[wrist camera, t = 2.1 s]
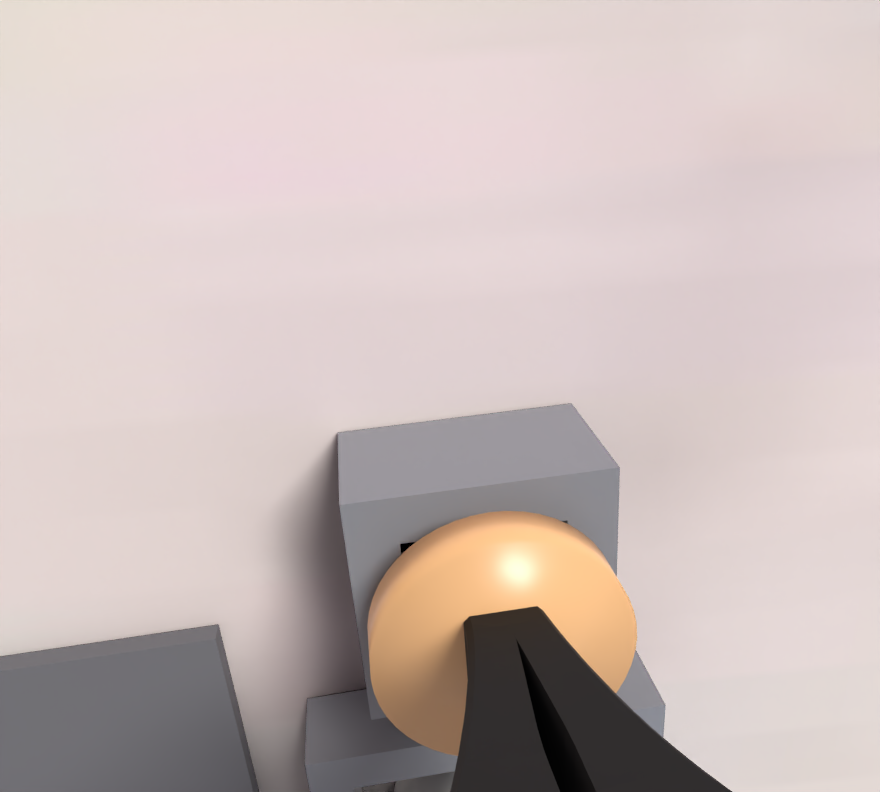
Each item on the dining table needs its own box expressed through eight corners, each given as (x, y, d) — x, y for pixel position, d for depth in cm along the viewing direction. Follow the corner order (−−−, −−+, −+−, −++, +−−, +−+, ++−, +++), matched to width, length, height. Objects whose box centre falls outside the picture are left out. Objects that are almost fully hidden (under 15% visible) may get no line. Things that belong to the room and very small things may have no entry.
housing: (624, 861, 23) (664, 967, 20) (348, 913, 22) (350, 1031, 19) (644, 394, 17) (706, 455, 14) (257, 442, 16) (242, 518, 13)
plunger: (572, 607, 18) (632, 734, 14) (374, 637, 17) (384, 777, 14) (573, 427, 16) (641, 524, 12) (348, 456, 15) (353, 565, 12)
